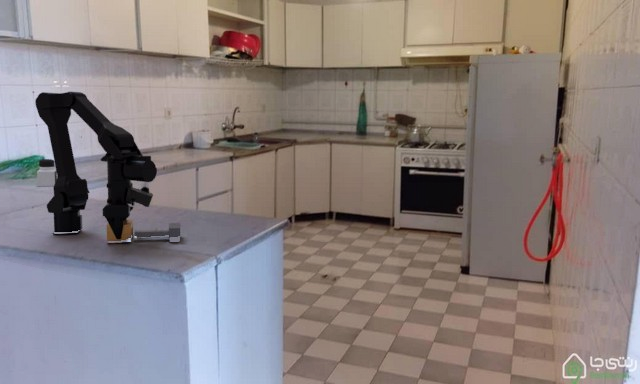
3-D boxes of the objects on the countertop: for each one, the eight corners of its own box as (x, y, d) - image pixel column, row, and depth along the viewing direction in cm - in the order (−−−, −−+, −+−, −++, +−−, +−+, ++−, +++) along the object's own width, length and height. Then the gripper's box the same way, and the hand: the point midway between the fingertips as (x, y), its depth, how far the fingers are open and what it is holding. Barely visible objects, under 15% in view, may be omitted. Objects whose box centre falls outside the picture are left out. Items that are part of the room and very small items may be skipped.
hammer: (133, 243, 136) (133, 229, 135) (135, 237, 142) (135, 223, 142) (180, 242, 139) (180, 228, 138) (180, 236, 146) (180, 222, 145)
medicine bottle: (55, 186, 231) (54, 160, 229) (37, 186, 228) (36, 160, 226) (57, 184, 237) (56, 158, 235) (39, 184, 235) (38, 158, 233)
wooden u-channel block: (107, 243, 134) (106, 225, 134) (110, 237, 140) (109, 220, 140) (131, 243, 136) (130, 224, 135) (133, 237, 142) (133, 219, 141)
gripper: (149, 183, 129) (149, 243, 131) (152, 175, 147) (153, 228, 149) (101, 183, 126) (103, 245, 128) (111, 175, 144) (112, 229, 146)
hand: (120, 236), depth 138 cm, fingers closed on wooden u-channel block, 6 cm apart
